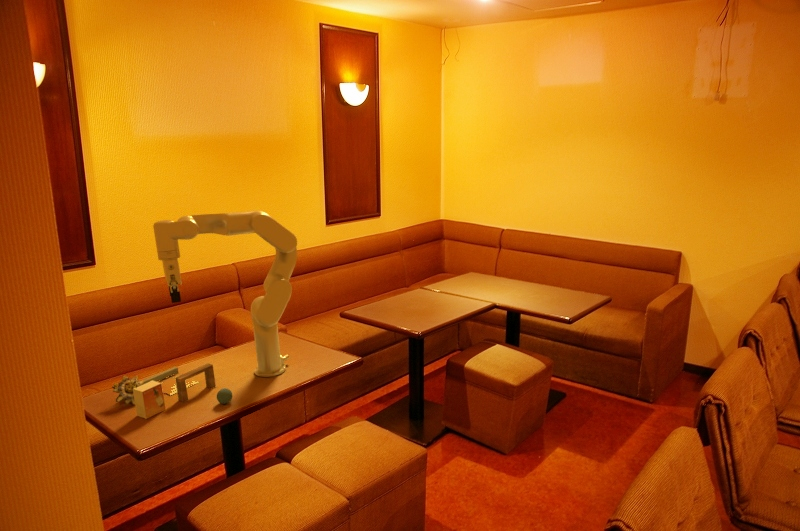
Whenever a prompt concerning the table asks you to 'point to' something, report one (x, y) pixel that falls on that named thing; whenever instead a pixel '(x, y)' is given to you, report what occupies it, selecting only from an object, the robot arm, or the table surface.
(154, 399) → the small box
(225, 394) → the ball
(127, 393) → the passion flower
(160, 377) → the grey square bar
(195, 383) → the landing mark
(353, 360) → the table surface
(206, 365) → the bridge
